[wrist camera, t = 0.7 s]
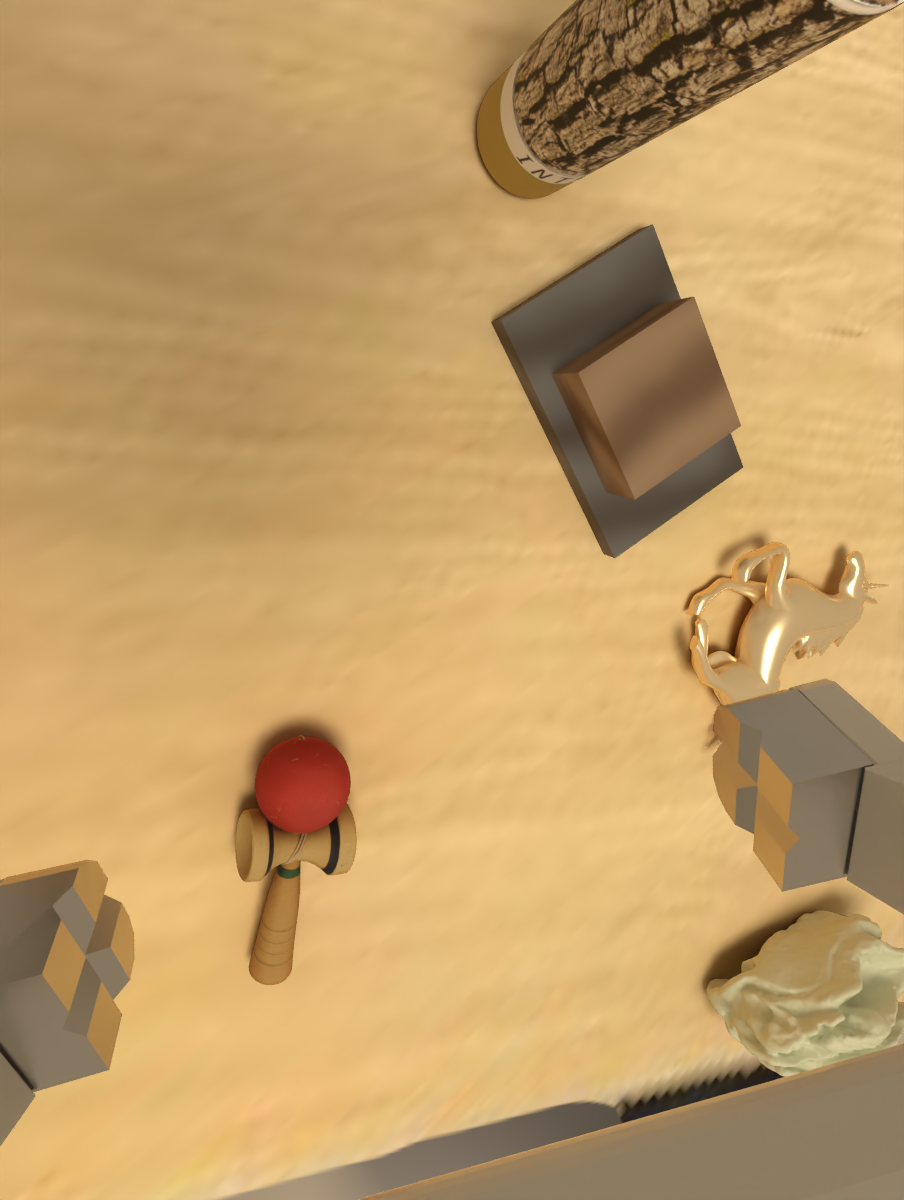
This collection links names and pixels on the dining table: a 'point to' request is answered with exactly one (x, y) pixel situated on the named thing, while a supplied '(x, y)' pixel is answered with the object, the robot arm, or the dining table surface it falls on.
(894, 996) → the folded clay sculpture
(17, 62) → the dining table surface
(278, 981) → the kendama
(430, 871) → the dining table surface
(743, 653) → the unicorn
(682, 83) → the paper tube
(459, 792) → the dining table surface
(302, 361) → the dining table surface
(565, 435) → the plinth
